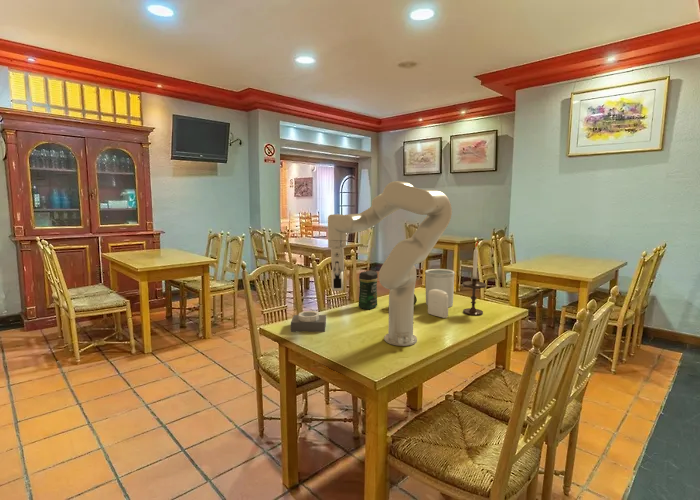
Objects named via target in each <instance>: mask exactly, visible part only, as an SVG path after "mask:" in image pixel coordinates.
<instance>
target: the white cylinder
mask: <svg viewBox="0 0 700 500" xmlns="http://www.w3.org/2000/svg"><path fill="white" fill-rule="evenodd" d="M335 271H336V270H335ZM339 271H340V270H339ZM331 290H332V291H336V292H337V291H338V292H340V291H343V290H344V271H343V272H342V271H341V288H334V272H333V271H332V270H331Z"/></svg>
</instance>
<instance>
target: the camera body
mask: <svg viewBox="0 0 700 500" xmlns="http://www.w3.org/2000/svg"><path fill="white" fill-rule="evenodd" d="M326 325H327V315H326V314H320V313H319V312H318V311H313V310H312V311H311V310H308V311H307V310H305V311H300V312H299V313H298V314H294V315H293V317H292V319H291V320H290V332H291V333H294V332H295V333H297V332H296V331H308V332H307V333H317V332H319V333H323V332H326Z"/></svg>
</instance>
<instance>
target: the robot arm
mask: <svg viewBox="0 0 700 500" xmlns="http://www.w3.org/2000/svg"><path fill="white" fill-rule="evenodd" d="M400 209H401V210H403V211H407V212H410V213H414V214H417V215H422V216H426V217H424V220H422V221H421V223H420V224H419V225H418V227H417V229H416V230H415V231H414V233H413V234H412V236H411V237H409V238H406V239H403V240H400V241H399V242H398V243H396V244H395V246H394V247H393V248H392V250H391V251H390V253H389V254H388V256H387V258H386V260H384V262H383V264H382V265H381V267H380V269H379V271H378V281H379V283H380V285H381V286H382V287H383V288H384V289H387V290H389V292H388V293H389V294H388V333H386V334H385V335H384V337H383V338H384V341H385V342H386V343H387V344H389V345H391V346H399V347H406V346H407V347H408V346H412V345H415V344H416V343H418V342H417V341H418V338H417V336H416V335H415V334H414V314H415V312H414V310H415V309H414V307H415V305H414V294H415V287H416V282H417V267H416V266H415V265H417V264H420V263H422V262H424V261H425V260H426V259H427V258H428V256H429V255H430V253H431V251H432V250H433V249H434V247H435V246H436V244H437V242H438V241H439V239H440V238H441V236H443V234H444V232H445V231H446V229H447V227H448V225H449V224H450V221H451V219H452V213H453V211H452V210H453V209H452V204H451V202H450V199H449V197H448V196H447V195H446V194H445V193H444V192H442V191H440V190H437V189H422V188H419V187H415V186H414V185H413V184H411V183H410V182H407V181H397V180H396V181H391V182H389V183H387V185H385V186H384V189H383V191H382V193H380V194H378V195H377V196H375V197H374V198H372V200H371V206H370V207H368V208H367V209H364V211H362V212H359V213H348V214H339V213H335V214H329V215H328V217H327V247H328V249H330V253H331V255H330V257H331V258H330V259H331V272H332V271H333V272H334V288H341V271H342V272H343V273H344V271H345V248H347V234H355V233H361V232H364V231H367V230H368V229H371V228H372V227H374V226H375V225H377V224H379V223H380V222H382V221H383V220H384V219H385V218H386V217H388V216H390V215H392V214H393V213H395V212H397V211H399V210H400ZM335 270H336V271H335ZM339 270H340V271H339Z"/></svg>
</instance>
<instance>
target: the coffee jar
mask: <svg viewBox="0 0 700 500" xmlns="http://www.w3.org/2000/svg"><path fill="white" fill-rule="evenodd" d="M358 281H359V292H358V293H359V294H358V308H360V309H362V308H363V310H365V309H366V310H371V309H374V308H376V307H378V295H377V294H378V289H377V284H378V281H379V273H378V272H377V271H376V270H372V269H371V270H370V269H369V270H367V271H366V270H365V271H362V272H360V273H359V276H358Z"/></svg>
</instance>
